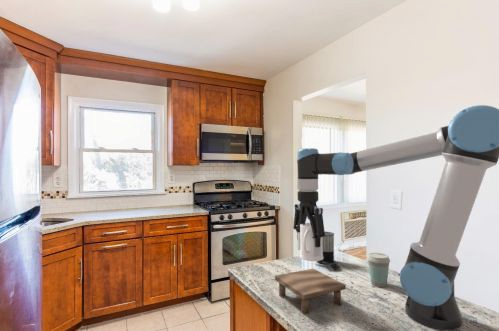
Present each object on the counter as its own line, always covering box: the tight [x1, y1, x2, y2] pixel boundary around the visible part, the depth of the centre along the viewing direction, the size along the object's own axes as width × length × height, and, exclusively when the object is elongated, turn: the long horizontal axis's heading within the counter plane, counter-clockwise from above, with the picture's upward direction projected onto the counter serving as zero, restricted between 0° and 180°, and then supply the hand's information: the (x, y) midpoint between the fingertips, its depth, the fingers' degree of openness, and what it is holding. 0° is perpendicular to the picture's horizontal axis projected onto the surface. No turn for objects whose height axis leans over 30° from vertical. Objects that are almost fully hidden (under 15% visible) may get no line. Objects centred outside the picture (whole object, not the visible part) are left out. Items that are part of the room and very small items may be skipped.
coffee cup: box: [366, 252, 391, 288], centre depth 113 cm, size 8×8×12 cm
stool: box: [274, 268, 347, 315], centre depth 100 cm, size 18×18×7 cm
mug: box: [299, 222, 323, 262], centre depth 100 cm, size 12×8×12 cm
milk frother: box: [316, 231, 340, 270], centre depth 138 cm, size 14×16×15 cm
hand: (308, 252), depth 101 cm, fingers closed on mug, 8 cm apart
